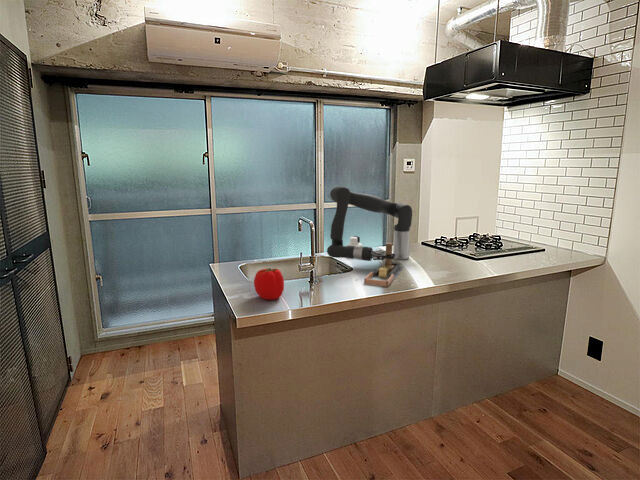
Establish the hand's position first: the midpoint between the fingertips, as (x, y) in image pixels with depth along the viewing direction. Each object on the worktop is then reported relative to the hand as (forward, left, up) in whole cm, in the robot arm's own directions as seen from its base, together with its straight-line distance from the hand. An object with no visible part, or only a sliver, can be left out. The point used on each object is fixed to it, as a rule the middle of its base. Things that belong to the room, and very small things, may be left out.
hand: (394, 256), depth 205 cm
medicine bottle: (-9, -41, -9) cm, 43 cm away
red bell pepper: (+71, -8, -9) cm, 72 cm away
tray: (+18, +7, -9) cm, 22 cm away
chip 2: (+7, +1, -8) cm, 10 cm away
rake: (+1, -2, -8) cm, 9 cm away
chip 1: (+11, +3, -8) cm, 14 cm away
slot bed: (+3, -1, -9) cm, 10 cm away
